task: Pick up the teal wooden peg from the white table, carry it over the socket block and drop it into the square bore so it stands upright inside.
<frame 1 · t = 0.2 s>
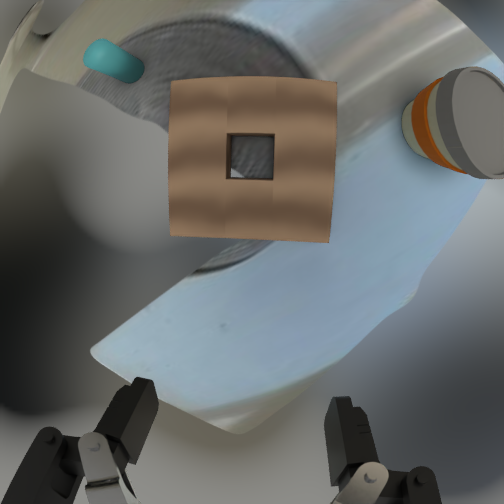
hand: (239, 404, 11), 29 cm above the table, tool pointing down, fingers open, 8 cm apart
peg: (132, 71, 32), on the table
socket block: (252, 156, 35), on the table
reusable coffee cup: (426, 128, 32), on the table
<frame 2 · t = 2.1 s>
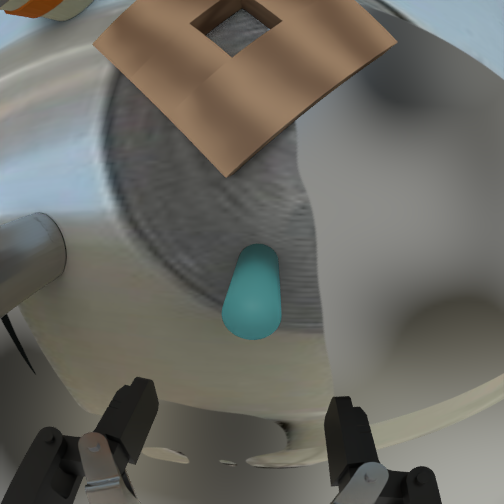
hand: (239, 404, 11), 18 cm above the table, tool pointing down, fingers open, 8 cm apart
peg: (258, 263, 28), on the table
socket block: (240, 37, 21), on the table
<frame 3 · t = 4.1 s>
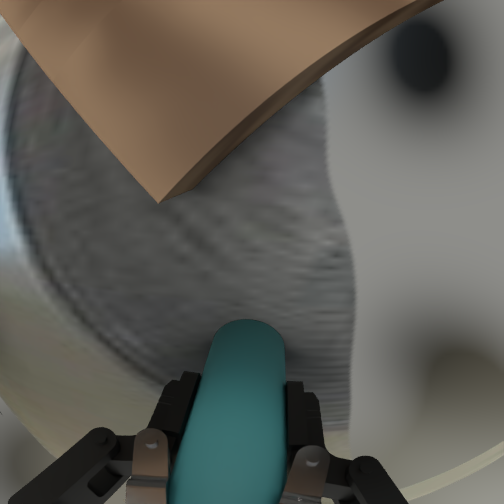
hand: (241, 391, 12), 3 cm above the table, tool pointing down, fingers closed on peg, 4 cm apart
peg: (248, 349, 15), on the table, touching gripper
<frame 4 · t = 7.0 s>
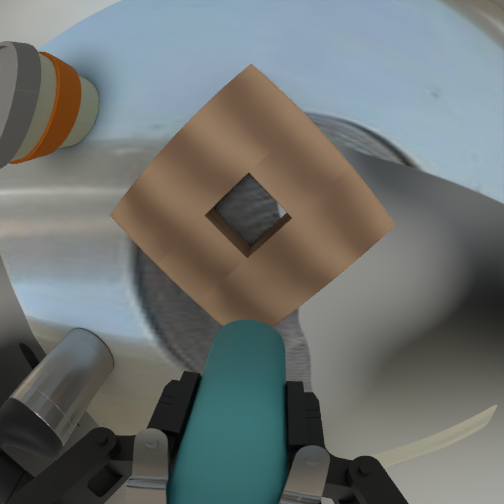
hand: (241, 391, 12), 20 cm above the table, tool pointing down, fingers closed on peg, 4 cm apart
peg: (248, 349, 15), point 16 cm above the table, touching gripper
socket block: (250, 209, 29), on the table
reusable coffee cup: (73, 112, 26), on the table
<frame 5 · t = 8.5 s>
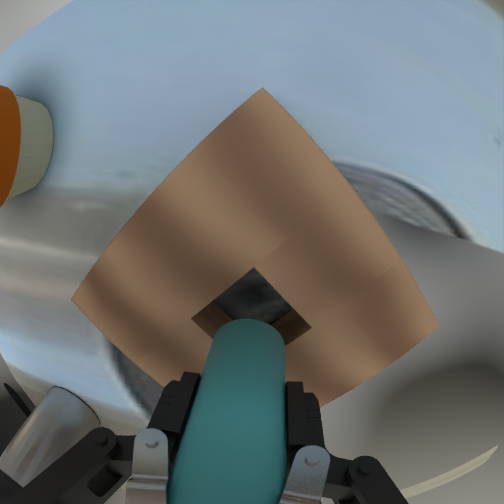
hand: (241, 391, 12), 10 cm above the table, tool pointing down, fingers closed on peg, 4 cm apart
peg: (248, 348, 15), point 7 cm above the table, touching gripper
socket block: (254, 295, 21), on the table
reusable coffee cup: (26, 146, 19), on the table
when the fingers open (5 cm above the table, at t = 9.9 s): peg drops 2 cm, resting in socket block.
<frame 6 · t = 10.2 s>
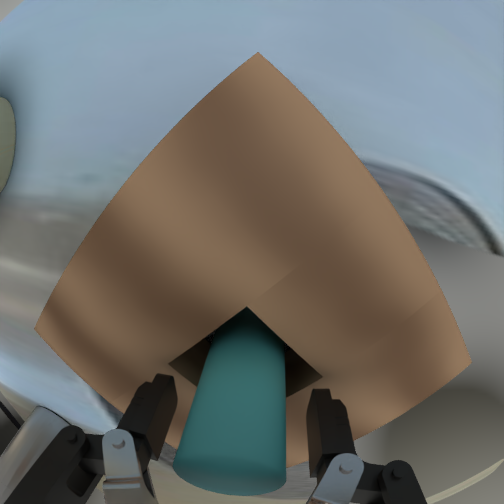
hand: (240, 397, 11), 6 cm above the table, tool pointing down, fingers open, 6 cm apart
peg: (250, 329, 17), resting in socket block
socket block: (250, 329, 17), on the table
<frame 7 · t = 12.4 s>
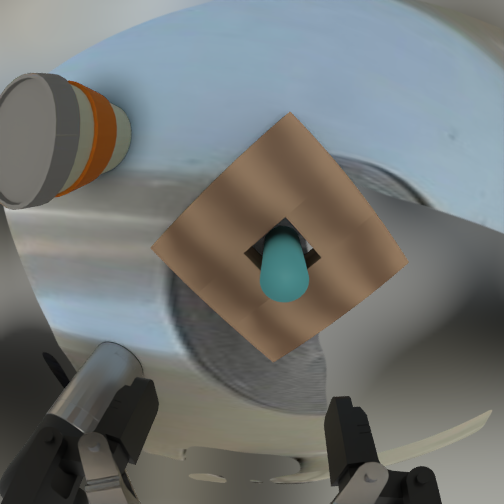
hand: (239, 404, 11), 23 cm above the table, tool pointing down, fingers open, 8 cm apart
peg: (282, 243, 32), resting in socket block
socket block: (282, 243, 32), on the table
reusable coffee cup: (102, 138, 29), on the table
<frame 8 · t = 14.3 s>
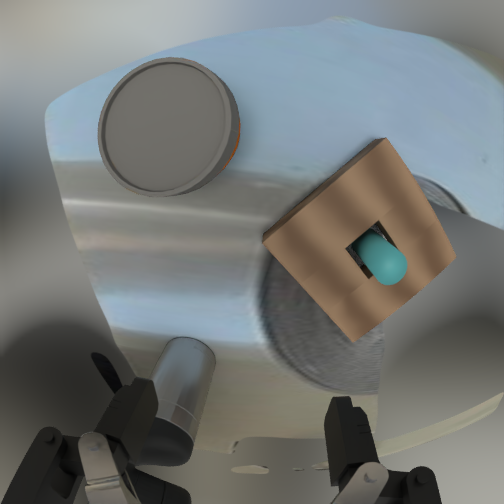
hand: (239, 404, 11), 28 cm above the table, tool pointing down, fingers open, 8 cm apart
peg: (364, 241, 37), resting in socket block
socket block: (364, 241, 37), on the table
reusable coffee cup: (202, 136, 34), on the table
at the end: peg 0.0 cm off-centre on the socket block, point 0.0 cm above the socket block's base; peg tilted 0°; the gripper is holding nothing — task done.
